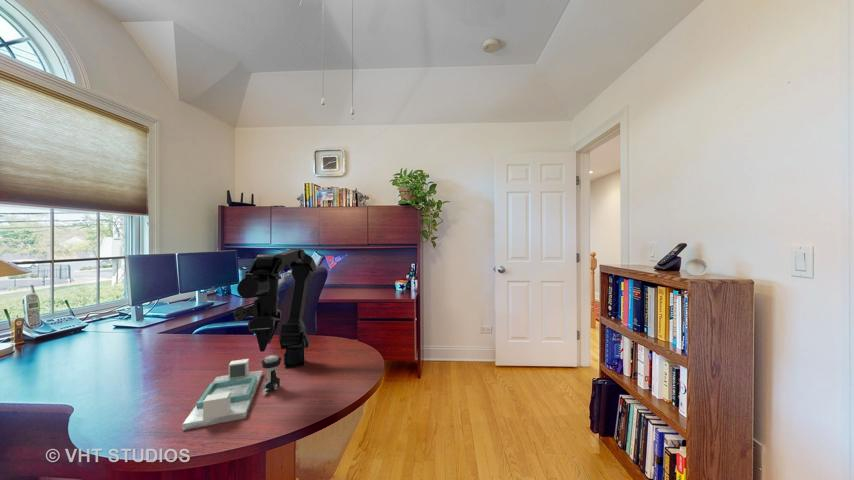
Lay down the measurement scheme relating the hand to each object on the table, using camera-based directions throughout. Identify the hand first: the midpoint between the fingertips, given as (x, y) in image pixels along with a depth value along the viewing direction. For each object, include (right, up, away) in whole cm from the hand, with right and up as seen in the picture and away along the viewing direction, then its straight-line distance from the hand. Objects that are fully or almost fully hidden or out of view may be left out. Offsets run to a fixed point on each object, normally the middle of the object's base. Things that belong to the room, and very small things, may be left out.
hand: (265, 347), depth 88 cm
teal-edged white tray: (-8, -13, -4) cm, 16 cm away
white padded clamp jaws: (-8, -12, -4) cm, 15 cm away
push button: (+1, -13, 0) cm, 14 cm away
